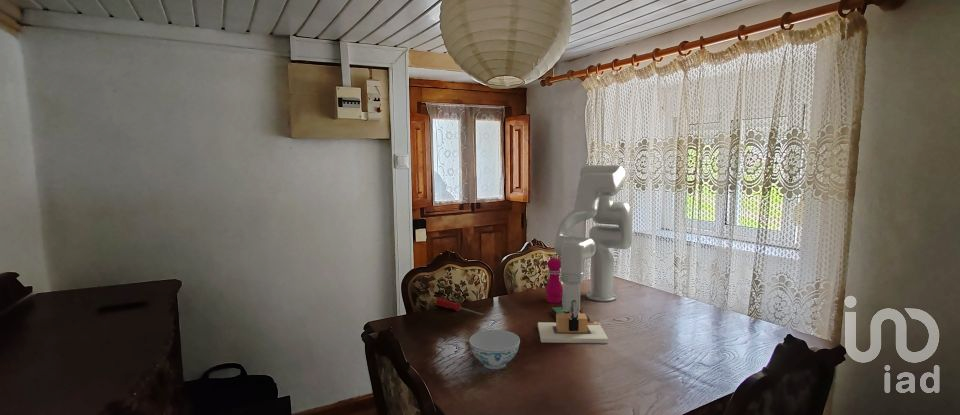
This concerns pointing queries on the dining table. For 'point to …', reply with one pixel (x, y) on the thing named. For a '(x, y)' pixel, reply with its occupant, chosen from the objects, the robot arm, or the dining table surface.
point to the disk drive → (562, 311)
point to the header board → (571, 334)
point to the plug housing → (563, 323)
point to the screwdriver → (451, 305)
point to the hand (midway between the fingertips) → (571, 325)
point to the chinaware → (494, 347)
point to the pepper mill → (554, 281)
